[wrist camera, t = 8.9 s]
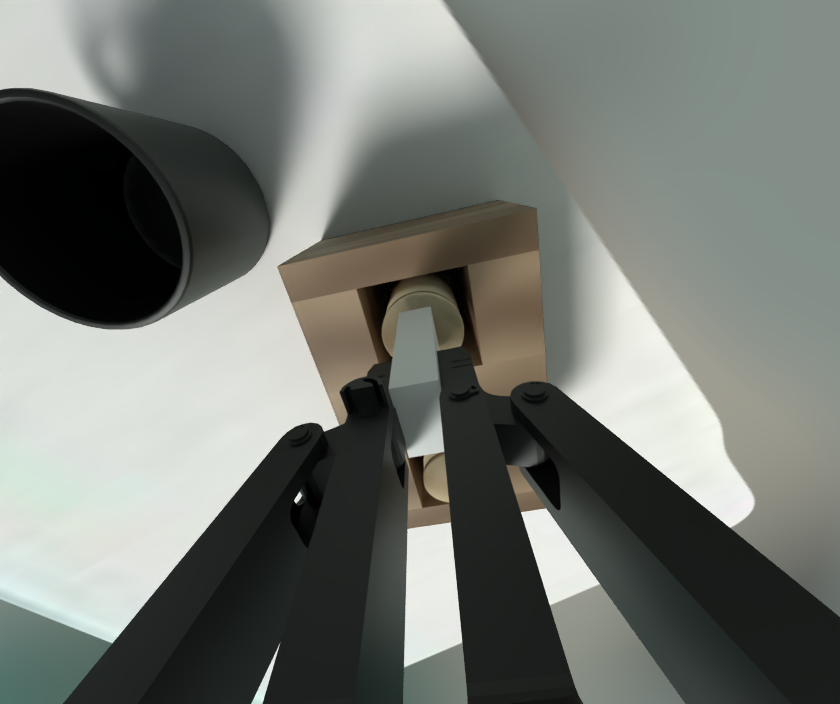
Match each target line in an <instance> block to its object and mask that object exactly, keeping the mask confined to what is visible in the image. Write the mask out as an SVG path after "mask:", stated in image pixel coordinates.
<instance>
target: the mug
mask: <svg viewBox="0 0 840 704" xmlns="http://www.w3.org/2000/svg"><path fill="white" fill-rule="evenodd" d="M268 228H269V227H268V214H267V208H266V204H265V200H264V197H263V194H262V192H261V190H260V187H259V185H258V183H257V181H256V179H255V178H254V176H253V175H252V173H251V171H250V170H249V168H248V167H247V166H246V165H245V163H244V162H243V161H242V160H241V159H240V157H239V156H238V155H237V154H236V153H235V152H234V151H232V150H231V149H230V148H229V147H228V146H227V145H225V144H224V143H223V142H221V141H220V140H219V139H217V138H215V137H214V136H212V135H210V134H208V133H206V132H204V131H202V130H199V129H197V128H194V127H190V126H187V125H183V124H179V123H174V122H170V121H166V120H162V119H158V118H154V117H150V116H146V115H142V114H138V113H134V112H130V111H126V110H122V109H118V108H114V107H110V106H106V105H102V104H98V103H94V102H90V101H85V100H81V99H77V98H73V97H69V96H65V95H61V94H57V93H53V92H49V91H43V90H38V89H33V88H10V89H3V90H0V276H1V277H2V278H3V279H4V280H5V281H6V282H7V283H8V284H10V285H11V286H12V287H13V288H15V289H16V290H17V291H18V292H20V293H21V294H22V295H24V296H25V297H27V298H28V299H30V300H31V301H33V302H34V303H36V304H37V305H39V306H40V307H42V308H44V309H46V310H48V311H50V312H52V313H54V314H56V315H58V316H60V317H62V318H65V319H68V320H70V321H73V322H75V323H79V324H83V325H86V326H90V327H95V328H102V329H132V328H138V327H143V326H146V325H149V324H152V323H154V322H156V321H158V320H160V319H162V318H164V317H166V316H168V315H170V314H172V313H174V312H175V311H177V310H179V309H181V308H183V307H185V306H187V305H189V304H191V303H193V302H194V301H196V300H198V299H200V298H202V297H204V296H206V295H208V294H210V293H211V292H213V291H215V290H217V289H219V288H221V287H223V286H225V285H227V284H228V283H230V282H232V281H234V280H236V279H238V278H240V277H242V276H243V275H245V274H246V273H248V272H249V271H250V270H251V269H252V268H253V267H254V266H255V265H256V264H257V262H258V261H259V260H260V258H261V256H262V254H263V252H264V249H265V246H266V243H267V238H268Z"/></svg>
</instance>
